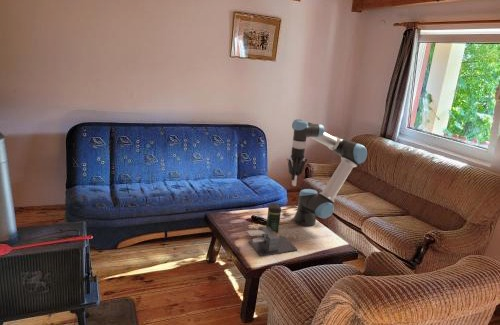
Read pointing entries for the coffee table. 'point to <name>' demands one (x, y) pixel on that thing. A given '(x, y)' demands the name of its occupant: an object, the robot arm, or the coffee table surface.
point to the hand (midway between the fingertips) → (293, 185)
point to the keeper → (256, 232)
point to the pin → (259, 239)
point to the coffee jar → (273, 216)
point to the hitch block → (272, 243)
